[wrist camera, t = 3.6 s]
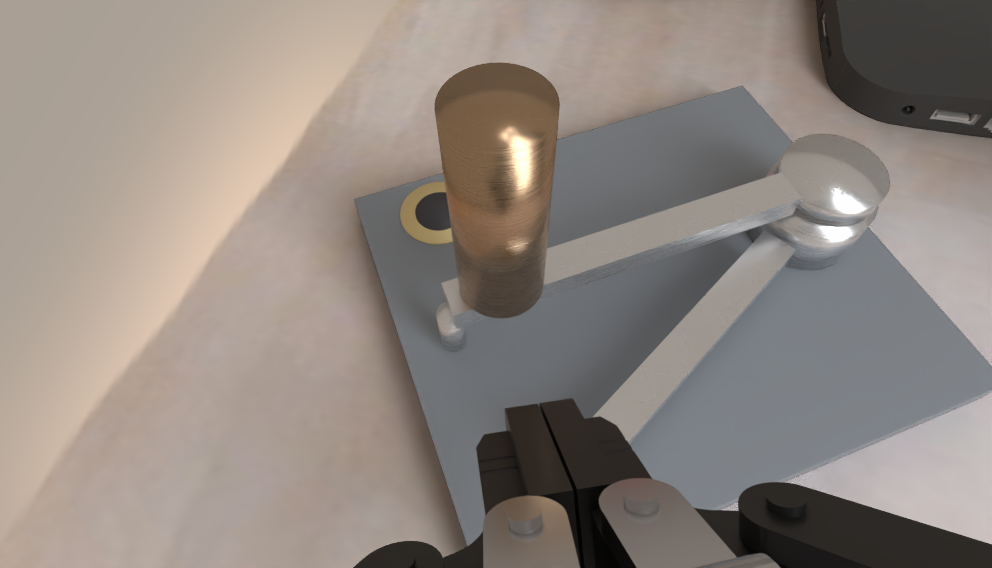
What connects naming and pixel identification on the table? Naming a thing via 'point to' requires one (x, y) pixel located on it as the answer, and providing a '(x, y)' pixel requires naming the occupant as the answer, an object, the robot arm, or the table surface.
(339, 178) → the table surface
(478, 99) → the crank handle
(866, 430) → the hole plate
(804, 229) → the divider pivot
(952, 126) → the media streaming box
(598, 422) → the robot arm
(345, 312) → the table surface
